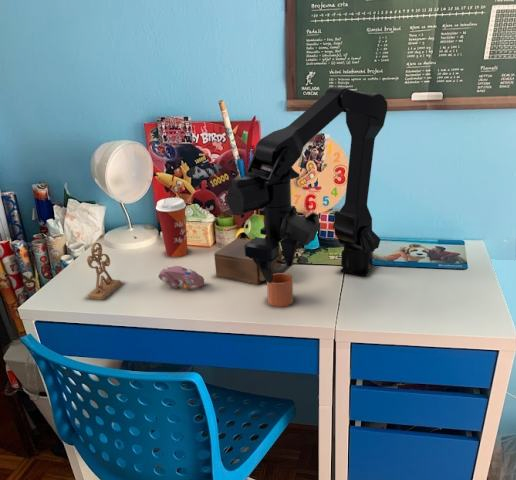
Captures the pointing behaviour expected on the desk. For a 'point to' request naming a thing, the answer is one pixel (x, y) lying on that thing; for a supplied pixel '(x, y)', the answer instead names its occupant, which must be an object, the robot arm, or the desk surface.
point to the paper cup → (173, 225)
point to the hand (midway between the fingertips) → (279, 274)
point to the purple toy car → (181, 277)
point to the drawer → (277, 266)
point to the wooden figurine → (108, 284)
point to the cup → (280, 290)
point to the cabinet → (236, 263)
